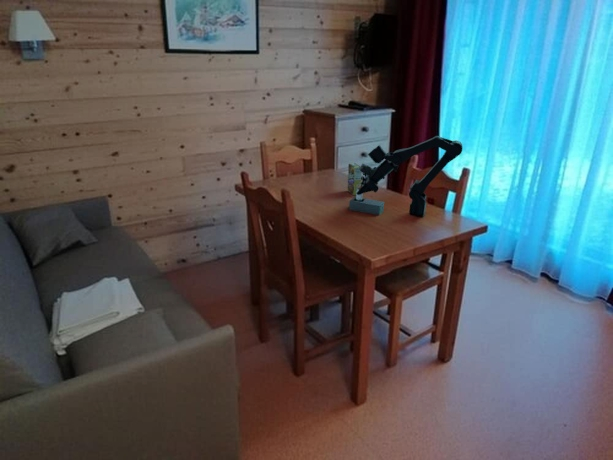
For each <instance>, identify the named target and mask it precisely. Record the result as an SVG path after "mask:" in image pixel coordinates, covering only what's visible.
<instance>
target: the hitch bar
mask: <svg viewBox="0 0 613 460" xmlns="http://www.w3.org/2000/svg"><path fill="white" fill-rule="evenodd" d="M348 204H349V205H348V206H349V207H348V211H349V210H350V211H354V212H359V213H365V214H369V215H370V214H371V215H376V216H380V215H381V214H382V213H383V212H384V210H385V209H384V208H385V201H382V200H381V201H380V200H376V199H375V200H374V199H369V198H364V197H362V202H359V201H356V196H354V197H352V198H351V199H350V200H349V203H348Z"/></svg>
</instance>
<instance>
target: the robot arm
mask: <svg viewBox="0 0 613 460" xmlns="http://www.w3.org/2000/svg"><path fill="white" fill-rule="evenodd" d="M435 147H437V148H439V149H442V150H444V153H443V155H441V157H440V158H439V159H438V161H437V162H435V164H434V165H433V166H432V168H431V169H429V171H428V172H427V173H426V174H425V175H424V176H423V177H422V179H420V180H418V179H415V180H414V183H413V184H411V185H410V186H409V187H410V188H409V192H408V196H409V198H410V199H411V202H410V204H409V212H408V213H409V214H408V215H410V216H414V217H420V218H423V217H424V216H425V215H426V214H425V213H426V207H427V201H426V200H427V195H426V193H425V191H426V189H427V188H428V186H429V185H430V184H431V183H432V181H433V180H434V179H435V178H437V176H438V175H439V174H440V173H441V172H442V171H443V169H444V168H445V167H446V166H447V165H448V164H449V163H450V162H452V161H453V160H455V159H456V158H457V157H459V156H460V155H461V154H462V152H463V142H461V141H459V140H451V139H448V138H444V137H441V136H439V135H435V136H434V137H432V138H430V139H426V140H425V141H423V142H420V143H418V144H416V145H413V146H411V147H408V148H407V147H406V148H401V149H397V150H394V152H386V151H385V150H384V149H383V148H382V146H381V145H380V144H379V145H377V146H376V147H375V148H373V149H372V150H371V151H370V152H369V153H368V154H367V155H368V157H369V158H370V159H371V160H372V161H373V162H374V164H379V165H378V166H377V167H376V166H374V167H371V166H370V165H367V164H365V163H362V164H361V165H360V171H361V172H362V173H361V184H363V186H362V187H361V188H360V189H359V191H358V192H357V195H359V194H362V193H363V194H367V193H369V192H374V193H377V192H378V191H379V186H378V185H379V182H380V181H381V180H384V179H385V178H386V177H387V175H388V174H390V173H391V172H393V170H394V172H395V173H397V172H398V168H399V165H401V164H403V163H405V162H406V161H407V160H410V159H411V158H412V157H414V156H416V155H418V154H421V153H423V152H426V151H428V150H431V149H433V148H435ZM356 191H357V189H356Z"/></svg>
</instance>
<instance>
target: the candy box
mask: <svg viewBox="0 0 613 460" xmlns="http://www.w3.org/2000/svg"><path fill="white" fill-rule="evenodd" d="M360 167H361V165H359V164H357V163H355V162H353V163H352V162H350V163H348V169H347V192H349V193H350V194H351V195H352V196H356V189H357V184H361V182H362V172H361V171H360Z"/></svg>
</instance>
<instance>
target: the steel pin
mask: <svg viewBox="0 0 613 460" xmlns="http://www.w3.org/2000/svg"><path fill="white" fill-rule="evenodd" d="M362 186H363V184H357V191H356V195H355V197H356V201H359V202H362V198H363V194H364V193H362V194H359V195H357V192H358V191H359V189H360V188H361V187H362Z"/></svg>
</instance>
